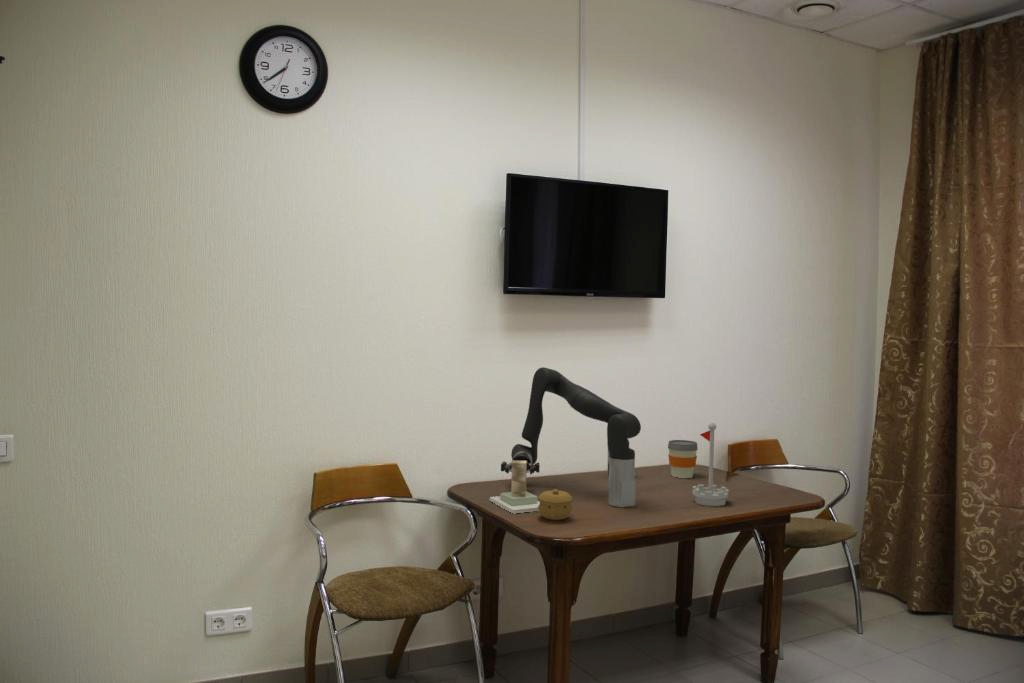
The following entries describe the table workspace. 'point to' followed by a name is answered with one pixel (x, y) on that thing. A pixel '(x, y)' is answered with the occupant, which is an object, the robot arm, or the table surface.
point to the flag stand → (710, 479)
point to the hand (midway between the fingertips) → (519, 471)
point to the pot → (555, 504)
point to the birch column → (518, 478)
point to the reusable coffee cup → (682, 458)
